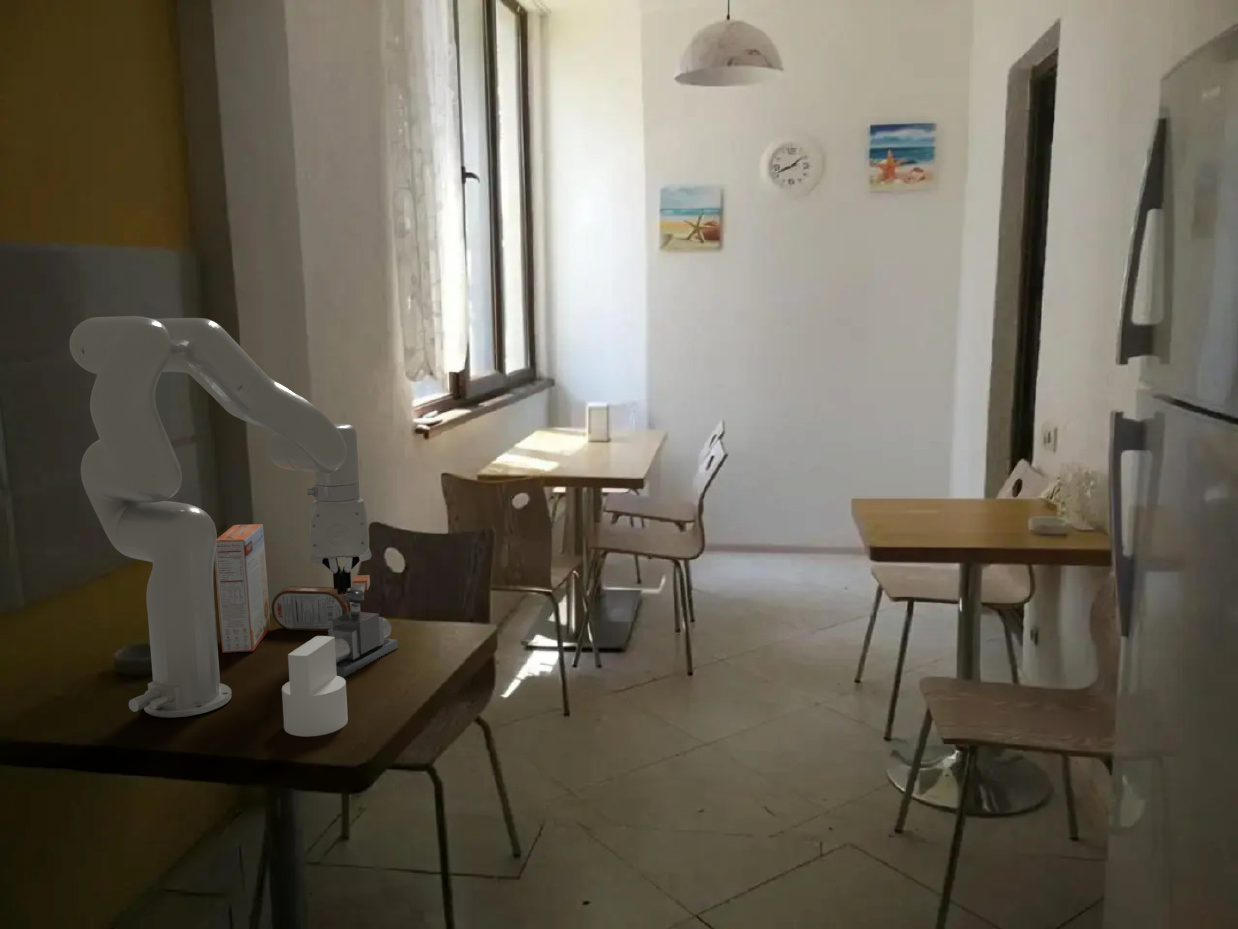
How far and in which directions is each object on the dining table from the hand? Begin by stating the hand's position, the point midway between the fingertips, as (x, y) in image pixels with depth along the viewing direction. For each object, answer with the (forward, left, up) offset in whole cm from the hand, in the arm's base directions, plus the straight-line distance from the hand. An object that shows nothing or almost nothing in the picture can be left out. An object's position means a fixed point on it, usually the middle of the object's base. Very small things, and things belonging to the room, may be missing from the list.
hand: (342, 592), depth 184 cm
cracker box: (-4, +19, -10) cm, 22 cm away
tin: (+6, +12, -10) cm, 17 cm away
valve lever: (-2, -5, +1) cm, 5 cm away
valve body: (-6, -7, -10) cm, 14 cm away
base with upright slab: (-32, -18, -10) cm, 38 cm away
